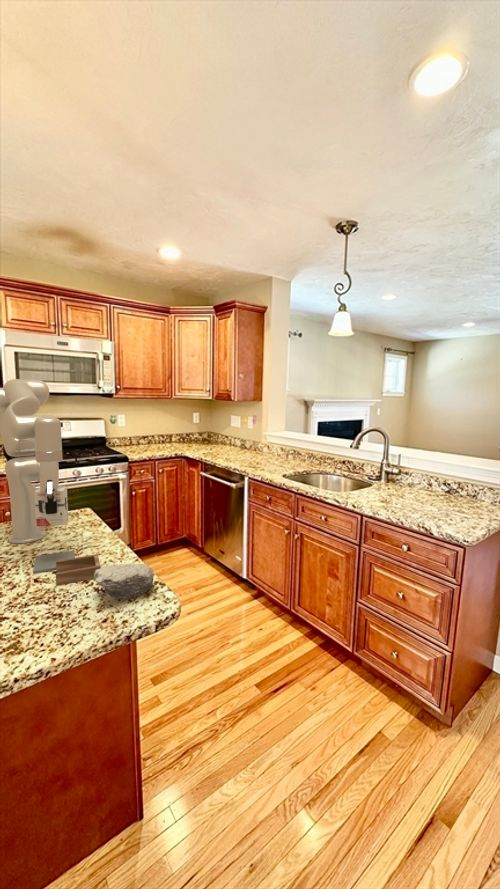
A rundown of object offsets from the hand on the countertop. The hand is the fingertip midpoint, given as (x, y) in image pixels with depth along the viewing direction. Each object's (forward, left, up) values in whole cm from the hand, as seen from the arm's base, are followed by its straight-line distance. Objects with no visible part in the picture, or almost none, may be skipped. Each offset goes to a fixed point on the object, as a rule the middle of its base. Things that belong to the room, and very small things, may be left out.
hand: (51, 510), depth 119 cm
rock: (+30, +18, -18) cm, 39 cm away
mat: (0, 0, -18) cm, 18 cm away
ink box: (0, 0, -5) cm, 5 cm away
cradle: (+12, +6, -18) cm, 23 cm away
